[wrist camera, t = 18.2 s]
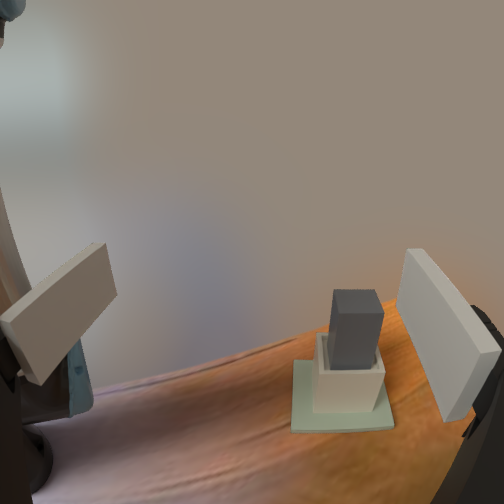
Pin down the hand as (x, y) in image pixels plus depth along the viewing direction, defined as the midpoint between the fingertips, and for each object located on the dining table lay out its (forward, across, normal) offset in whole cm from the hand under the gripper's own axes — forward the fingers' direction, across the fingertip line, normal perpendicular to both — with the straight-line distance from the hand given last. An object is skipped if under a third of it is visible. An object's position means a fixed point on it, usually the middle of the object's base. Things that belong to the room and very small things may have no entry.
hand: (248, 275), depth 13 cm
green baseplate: (+24, +11, -35) cm, 44 cm away
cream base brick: (+24, +11, -34) cm, 43 cm away
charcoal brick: (+24, +11, -26) cm, 37 cm away
